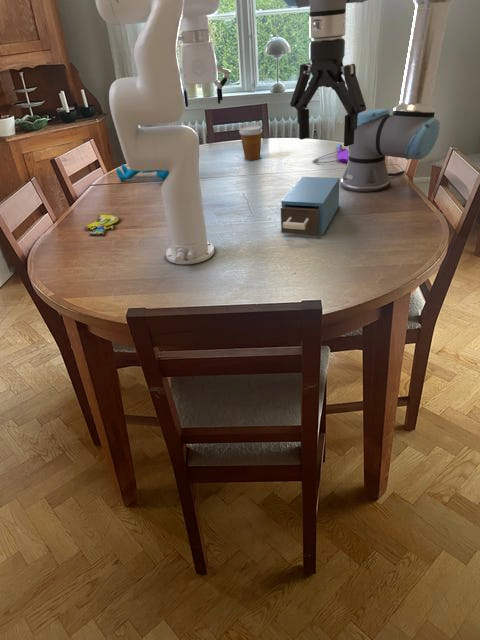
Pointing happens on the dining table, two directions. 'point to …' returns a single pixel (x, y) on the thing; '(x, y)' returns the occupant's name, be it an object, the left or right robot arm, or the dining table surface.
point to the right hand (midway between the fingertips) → (325, 141)
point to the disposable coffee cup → (251, 141)
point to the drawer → (300, 219)
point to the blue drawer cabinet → (316, 197)
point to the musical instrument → (341, 155)
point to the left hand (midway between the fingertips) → (203, 104)
